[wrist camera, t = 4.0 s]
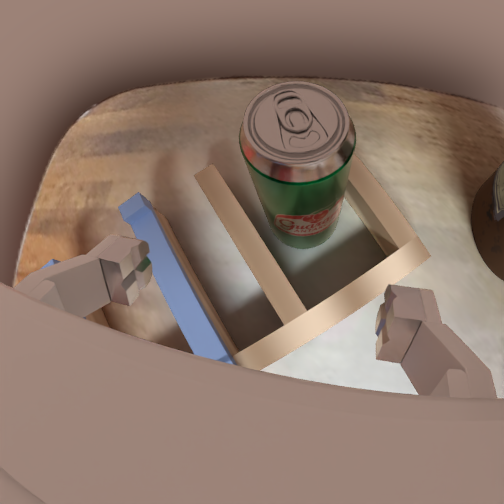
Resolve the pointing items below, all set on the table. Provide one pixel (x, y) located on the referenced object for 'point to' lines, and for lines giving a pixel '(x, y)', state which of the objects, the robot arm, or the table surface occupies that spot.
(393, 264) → the duct rack
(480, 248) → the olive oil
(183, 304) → the blue bezel
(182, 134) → the table surface
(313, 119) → the soda can
